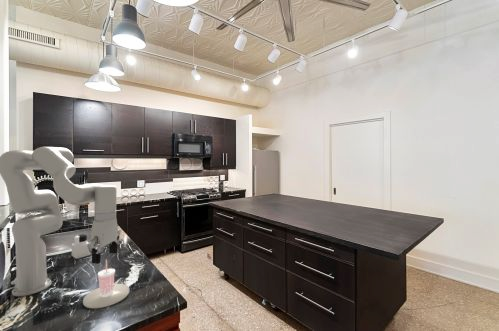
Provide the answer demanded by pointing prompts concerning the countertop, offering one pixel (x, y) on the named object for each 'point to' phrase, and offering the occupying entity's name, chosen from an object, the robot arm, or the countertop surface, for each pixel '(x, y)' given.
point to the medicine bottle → (80, 246)
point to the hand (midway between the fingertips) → (105, 257)
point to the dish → (97, 301)
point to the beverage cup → (106, 281)
